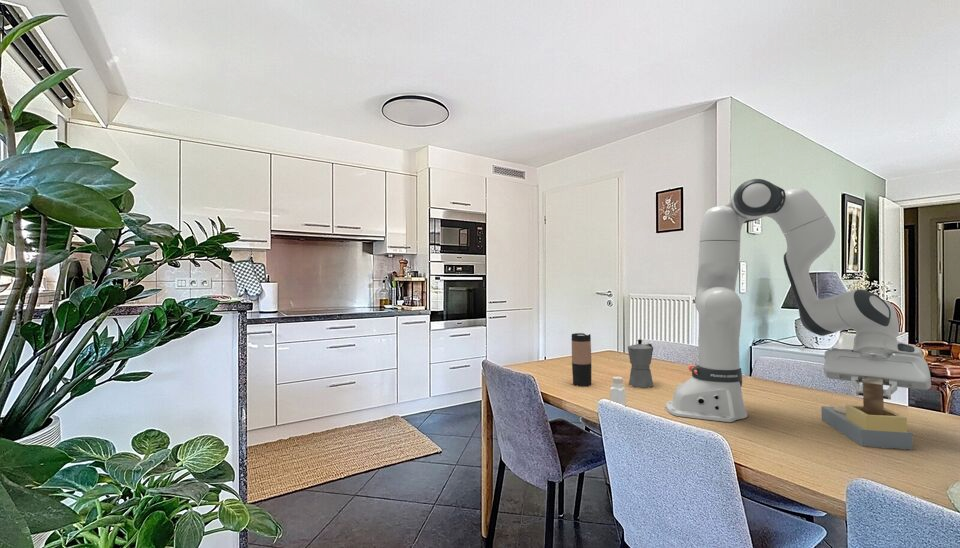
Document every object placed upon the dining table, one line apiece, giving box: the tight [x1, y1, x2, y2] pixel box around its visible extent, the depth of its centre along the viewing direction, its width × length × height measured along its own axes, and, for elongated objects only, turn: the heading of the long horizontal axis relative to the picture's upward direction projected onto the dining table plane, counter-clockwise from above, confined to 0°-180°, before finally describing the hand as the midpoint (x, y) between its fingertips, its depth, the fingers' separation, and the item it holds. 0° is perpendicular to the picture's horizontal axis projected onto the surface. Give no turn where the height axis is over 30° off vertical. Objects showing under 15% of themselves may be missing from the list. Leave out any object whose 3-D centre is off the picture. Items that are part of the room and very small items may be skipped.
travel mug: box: [571, 332, 592, 387], centre depth 170 cm, size 8×8×20 cm
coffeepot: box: [627, 338, 654, 389], centre depth 168 cm, size 15×9×18 cm, turn 128°
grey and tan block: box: [820, 404, 914, 451], centre depth 112 cm, size 10×20×8 cm, turn 164°
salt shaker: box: [609, 376, 627, 407], centre depth 140 cm, size 4×4×10 cm
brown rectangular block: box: [861, 377, 885, 415], centre depth 107 cm, size 4×4×10 cm
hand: (873, 396), depth 106 cm, fingers closed on brown rectangular block, 3 cm apart
